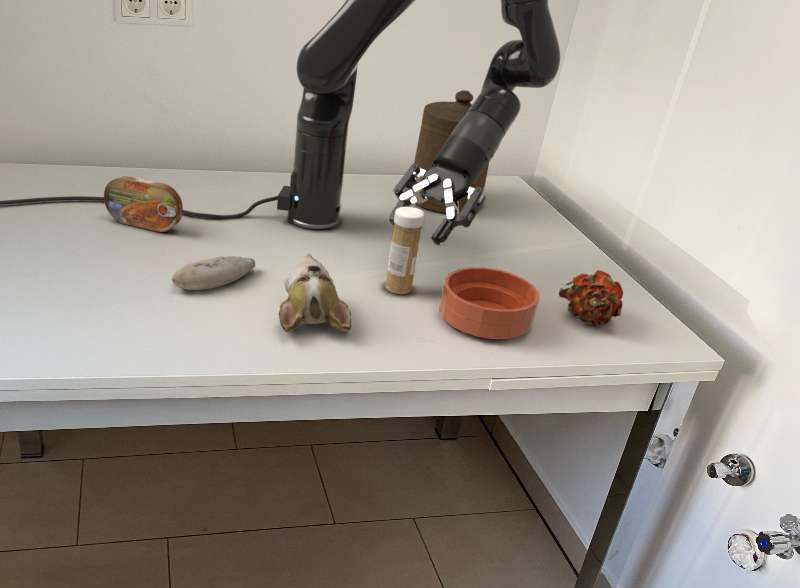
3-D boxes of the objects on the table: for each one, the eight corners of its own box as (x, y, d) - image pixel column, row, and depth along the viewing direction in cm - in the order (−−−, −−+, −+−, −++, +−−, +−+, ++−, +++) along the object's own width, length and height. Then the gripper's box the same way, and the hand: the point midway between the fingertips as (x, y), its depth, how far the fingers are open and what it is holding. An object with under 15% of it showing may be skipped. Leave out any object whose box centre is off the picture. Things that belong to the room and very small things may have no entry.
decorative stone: (264, 276, 129) (265, 257, 127) (185, 301, 121) (184, 281, 119) (241, 262, 133) (242, 244, 131) (163, 285, 124) (162, 266, 122)
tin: (104, 219, 144) (101, 174, 139) (113, 213, 146) (110, 169, 141) (177, 237, 140) (176, 191, 135) (185, 230, 142) (185, 185, 137)
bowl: (436, 335, 117) (442, 302, 114) (440, 292, 129) (446, 261, 126) (533, 350, 116) (542, 317, 113) (528, 305, 127) (536, 274, 124)
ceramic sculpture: (343, 244, 120) (359, 296, 109) (338, 292, 126) (353, 347, 114) (274, 243, 119) (283, 296, 107) (271, 292, 124) (279, 347, 113)
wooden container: (490, 199, 166) (514, 91, 153) (464, 220, 155) (486, 106, 143) (426, 182, 172) (444, 77, 159) (396, 201, 161) (412, 90, 149)
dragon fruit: (593, 348, 120) (566, 319, 131) (645, 319, 119) (613, 292, 129) (570, 304, 117) (544, 278, 128) (624, 274, 115) (593, 250, 126)
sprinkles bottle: (417, 291, 128) (431, 214, 121) (395, 297, 126) (408, 219, 119) (399, 280, 132) (411, 203, 124) (378, 285, 129) (389, 208, 122)
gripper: (426, 122, 126) (370, 206, 126) (501, 147, 118) (442, 236, 117) (441, 149, 132) (387, 229, 132) (513, 174, 124) (456, 260, 124)
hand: (413, 233), depth 125 cm, fingers open, 8 cm apart
